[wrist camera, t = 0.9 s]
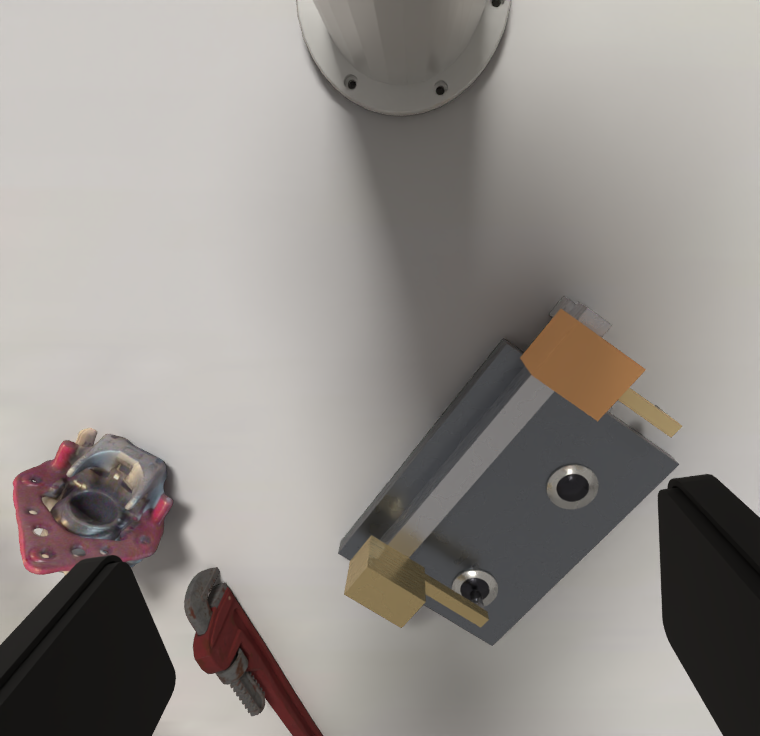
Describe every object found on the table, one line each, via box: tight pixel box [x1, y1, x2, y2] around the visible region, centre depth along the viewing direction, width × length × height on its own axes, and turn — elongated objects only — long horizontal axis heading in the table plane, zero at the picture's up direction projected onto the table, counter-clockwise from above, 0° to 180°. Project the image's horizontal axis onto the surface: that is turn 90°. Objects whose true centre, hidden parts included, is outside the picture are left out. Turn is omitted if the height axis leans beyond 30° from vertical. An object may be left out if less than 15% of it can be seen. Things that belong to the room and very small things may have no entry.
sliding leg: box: [520, 309, 682, 437], centre depth 32 cm, size 4×11×5 cm, turn 56°
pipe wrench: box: [184, 567, 323, 736], centre depth 45 cm, size 7×2×30 cm
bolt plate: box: [338, 296, 679, 646], centre depth 36 cm, size 27×16×7 cm, turn 146°
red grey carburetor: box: [13, 428, 173, 575], centre depth 39 cm, size 11×11×12 cm
